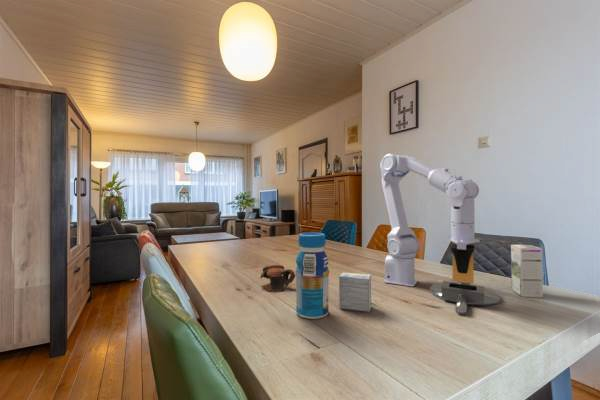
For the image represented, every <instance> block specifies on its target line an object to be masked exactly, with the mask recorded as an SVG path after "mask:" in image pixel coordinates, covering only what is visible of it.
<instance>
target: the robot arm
mask: <svg viewBox="0 0 600 400" xmlns="http://www.w3.org/2000/svg"><path fill="white" fill-rule="evenodd" d="M379 166H380V171H381V186H382V190H383V194H384V195H383V196H384V199H385V204H386V209H387V213H388V217H389V223H390V228H391V230H390V232H389V233H388V234H387V235H386V236H387V246H386V247H387V251H388V253H389V255H386V257H385V261H384V283H386V284H394V285H400V286H406V287H415V285H416V284H417V283H418V281H419V280H418V279H417V278H415V277H416V257H417V253H419V252H420V251H419V250H420V247H421V246H420V241H419V240H418V238H417V236H416V234H415V231H414V230H413V229H412V228H411V227H409V224H408V220H407V216H406V212H405V207H404V202H403V199H402V194H401V190H400V185H399V183H400V182H401V181H402V180H403V179H404V178H405V177H406V176H407V175H408V174H409V173H410V172H413V173H415V174H417V175H419V176H422V177H424V178H426V179H428V183H429V185H431V186H432V187H434V188H436V189H438V190H439V191H442V192H443V193H445V194H446V196H447V197H448V199H449V204H450V237H449V238H450V239H449V240H450V242H453V244H452V245H451V246H450V251H451V252H452V256H453V255H454V257H455V261H456V266H457V270H458V273H466V274H467V271H468V266H469V261H470V258H471V255H472V253H473V254H474V251H475V245H474V243H480V239H479V238H475V236H476V235H475V230H476V229H475V223H476V222H475V199H476V198H477V197H478V195H479V192H480V191H479V190H480V188H479V185H478V184H477V183H476V181H473V179H463V176H462V175H459V174H457V175H456V174H454V173H452V172H450V171H449V170H450V169H449V168H446V167H437V168H432V167H431V166H428V165H427V164H426V163H423V162H421V161H420V160H419V159H417V158H416V157H413V156H410V155H402V154H393V153H387V154H385V155H384V156H383V158H382V159H381V161H380V163H379Z"/></svg>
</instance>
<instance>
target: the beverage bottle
mask: <svg viewBox="0 0 600 400" xmlns="http://www.w3.org/2000/svg"><path fill="white" fill-rule="evenodd" d="M298 246H299V248H300V250H299V251H298V253H297V256H296V259H295V263H296V265H297V266H296V267H295V271H294V274H295V288H296V289H295V293H296V295H295V296H296V297H295V298H296V299H295V300H296V308H295V311H296V314H297V315H298V316H299V317H301V318H304V319H309V320H319V319H322V318H324V317H326V316H327V315H328V314H329V309H330V307H329V275H330V269H329V267H328V264H329V263H330V261H329V257H328V255H327V253H326V251H325V250H324V248H326V234H325V233H322V232H302V233H299V234H298Z"/></svg>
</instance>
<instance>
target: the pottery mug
mask: <svg viewBox="0 0 600 400" xmlns="http://www.w3.org/2000/svg"><path fill="white" fill-rule="evenodd" d="M262 278H264V279H267V280H269V282H268V283H265V285H264V287H265V292H270V291H284V290H285V287H288V286H289V285H290V284H291V283H292V282H294V280H295V279H296V273H295V271H294V270H293V269H286V270H285V267H284V265H280V264H273V265H269V266H265V267H263V268H262V273H261V275H260V279H262Z"/></svg>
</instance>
